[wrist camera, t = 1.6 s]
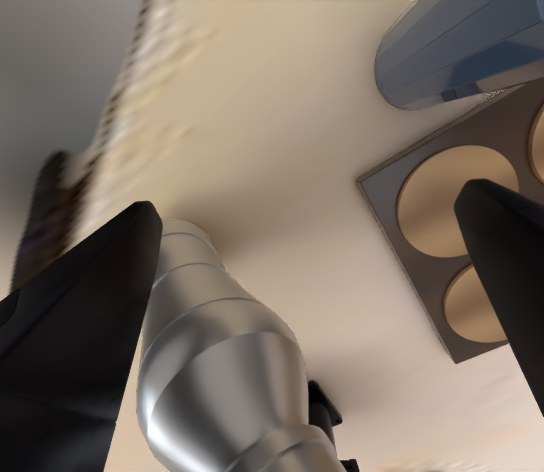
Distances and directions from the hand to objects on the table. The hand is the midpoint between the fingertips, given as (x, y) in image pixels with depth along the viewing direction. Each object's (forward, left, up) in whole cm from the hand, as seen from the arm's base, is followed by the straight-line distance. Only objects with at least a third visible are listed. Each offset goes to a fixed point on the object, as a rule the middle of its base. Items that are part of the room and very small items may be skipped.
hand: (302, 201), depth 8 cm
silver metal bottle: (0, +12, -13) cm, 18 cm away
